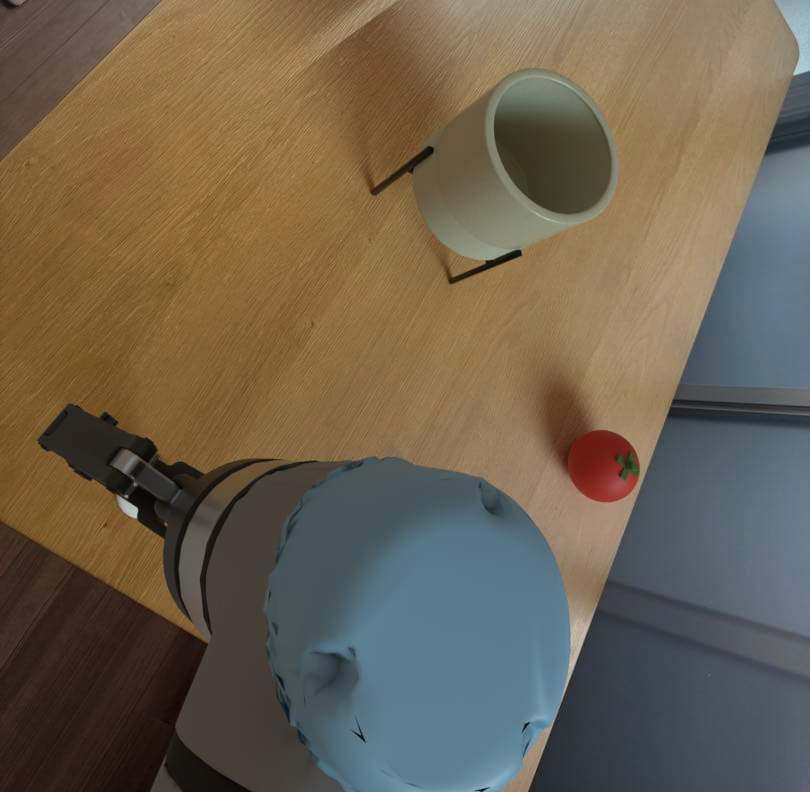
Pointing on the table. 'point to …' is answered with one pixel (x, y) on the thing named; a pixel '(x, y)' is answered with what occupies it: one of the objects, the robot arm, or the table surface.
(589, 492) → the tomato
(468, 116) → the planter
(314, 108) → the table surface
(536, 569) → the robot arm
